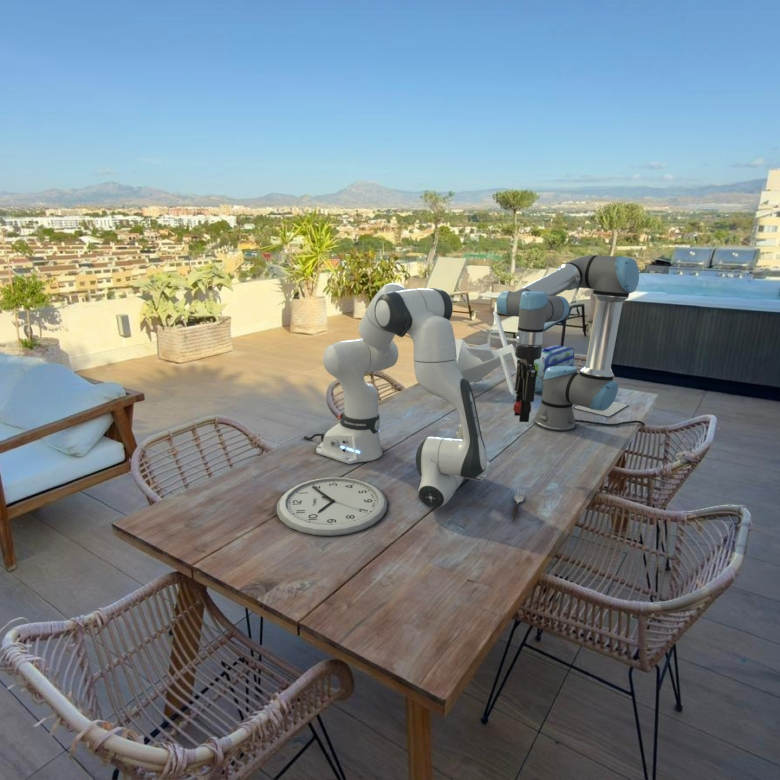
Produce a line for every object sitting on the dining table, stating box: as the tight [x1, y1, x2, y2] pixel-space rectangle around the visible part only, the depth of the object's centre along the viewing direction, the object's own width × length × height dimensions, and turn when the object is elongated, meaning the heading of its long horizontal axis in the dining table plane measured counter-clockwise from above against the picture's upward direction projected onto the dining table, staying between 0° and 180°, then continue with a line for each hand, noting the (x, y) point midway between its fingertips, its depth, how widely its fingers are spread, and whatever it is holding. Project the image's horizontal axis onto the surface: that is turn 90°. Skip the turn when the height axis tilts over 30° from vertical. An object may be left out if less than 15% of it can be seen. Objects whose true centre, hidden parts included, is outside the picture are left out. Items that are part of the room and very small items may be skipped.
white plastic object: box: [455, 310, 520, 400], centre depth 245 cm, size 37×45×31 cm
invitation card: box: [573, 400, 629, 418], centre depth 226 cm, size 21×1×15 cm
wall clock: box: [276, 476, 388, 537], centre depth 142 cm, size 30×2×30 cm
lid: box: [513, 401, 532, 413], centre depth 161 cm, size 5×5×2 cm
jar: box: [455, 423, 464, 439], centre depth 160 cm, size 4×4×16 cm
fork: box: [512, 487, 526, 521], centre depth 143 cm, size 3×16×2 cm, turn 160°
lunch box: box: [534, 345, 575, 394], centre depth 245 cm, size 26×11×21 cm, turn 134°
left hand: (462, 454), depth 162 cm, fingers closed on jar, 4 cm apart
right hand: (521, 418), depth 162 cm, fingers closed on lid, 5 cm apart
